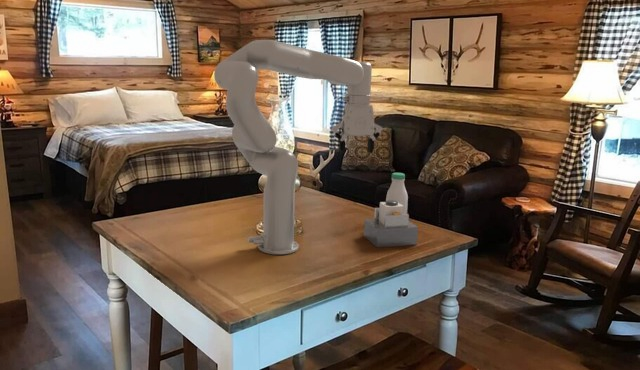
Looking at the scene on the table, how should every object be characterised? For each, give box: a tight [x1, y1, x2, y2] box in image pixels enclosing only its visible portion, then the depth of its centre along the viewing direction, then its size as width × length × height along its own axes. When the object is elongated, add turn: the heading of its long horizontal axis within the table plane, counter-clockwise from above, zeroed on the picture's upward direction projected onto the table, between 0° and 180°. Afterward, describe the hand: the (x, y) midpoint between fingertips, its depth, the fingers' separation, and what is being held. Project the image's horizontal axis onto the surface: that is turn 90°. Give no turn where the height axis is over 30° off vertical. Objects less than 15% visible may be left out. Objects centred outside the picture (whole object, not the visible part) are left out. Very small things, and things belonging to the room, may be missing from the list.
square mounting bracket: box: [363, 207, 419, 248], centre depth 183 cm, size 16×12×11 cm
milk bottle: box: [385, 172, 409, 214], centre depth 194 cm, size 8×8×20 cm
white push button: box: [379, 200, 404, 224], centre depth 181 cm, size 6×6×7 cm
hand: (356, 152), depth 183 cm, fingers open, 9 cm apart
